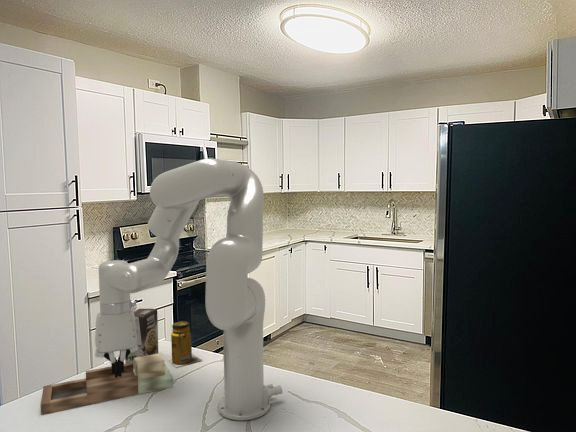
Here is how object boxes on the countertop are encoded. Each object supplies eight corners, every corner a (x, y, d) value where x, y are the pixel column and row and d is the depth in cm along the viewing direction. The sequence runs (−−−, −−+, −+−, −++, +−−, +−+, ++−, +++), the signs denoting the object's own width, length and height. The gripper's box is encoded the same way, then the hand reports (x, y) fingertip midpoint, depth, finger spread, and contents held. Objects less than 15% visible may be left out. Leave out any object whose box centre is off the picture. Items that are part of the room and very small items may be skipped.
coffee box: (144, 370, 127) (142, 316, 126) (124, 368, 128) (122, 315, 127) (159, 358, 135) (158, 308, 134) (141, 357, 137) (139, 307, 136)
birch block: (160, 366, 123) (160, 353, 123) (164, 374, 118) (164, 360, 117) (134, 371, 120) (134, 357, 119) (138, 380, 114) (137, 365, 114)
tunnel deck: (165, 371, 125) (164, 356, 125) (173, 386, 116) (172, 370, 115) (43, 395, 111) (43, 378, 111) (41, 415, 102) (40, 396, 101)
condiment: (167, 360, 134) (166, 322, 133) (192, 354, 139) (191, 317, 138) (176, 368, 128) (175, 328, 127) (202, 361, 133) (201, 323, 132)
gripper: (142, 300, 120) (145, 364, 121) (83, 307, 113) (86, 375, 114) (147, 307, 113) (149, 374, 114) (84, 315, 107) (87, 386, 108)
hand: (117, 375), depth 114 cm, fingers closed
